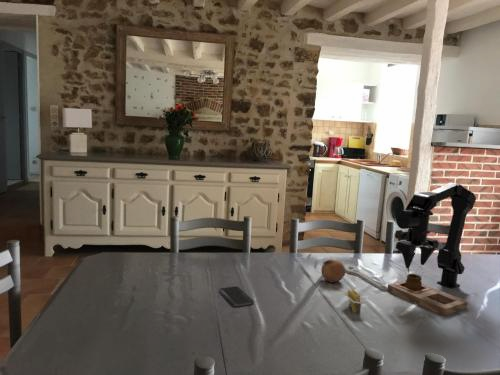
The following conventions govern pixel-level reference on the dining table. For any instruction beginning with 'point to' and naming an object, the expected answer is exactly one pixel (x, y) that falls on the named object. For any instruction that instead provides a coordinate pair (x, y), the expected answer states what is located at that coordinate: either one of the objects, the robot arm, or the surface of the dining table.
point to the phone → (236, 296)
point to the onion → (333, 270)
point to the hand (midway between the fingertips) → (414, 266)
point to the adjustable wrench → (364, 277)
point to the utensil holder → (413, 281)
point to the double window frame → (429, 298)
